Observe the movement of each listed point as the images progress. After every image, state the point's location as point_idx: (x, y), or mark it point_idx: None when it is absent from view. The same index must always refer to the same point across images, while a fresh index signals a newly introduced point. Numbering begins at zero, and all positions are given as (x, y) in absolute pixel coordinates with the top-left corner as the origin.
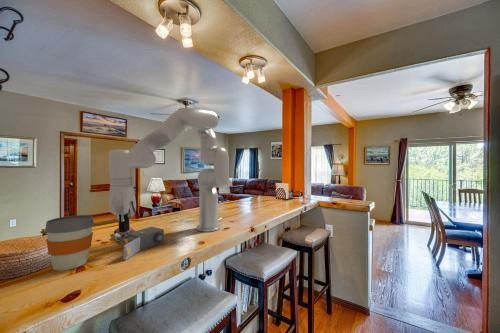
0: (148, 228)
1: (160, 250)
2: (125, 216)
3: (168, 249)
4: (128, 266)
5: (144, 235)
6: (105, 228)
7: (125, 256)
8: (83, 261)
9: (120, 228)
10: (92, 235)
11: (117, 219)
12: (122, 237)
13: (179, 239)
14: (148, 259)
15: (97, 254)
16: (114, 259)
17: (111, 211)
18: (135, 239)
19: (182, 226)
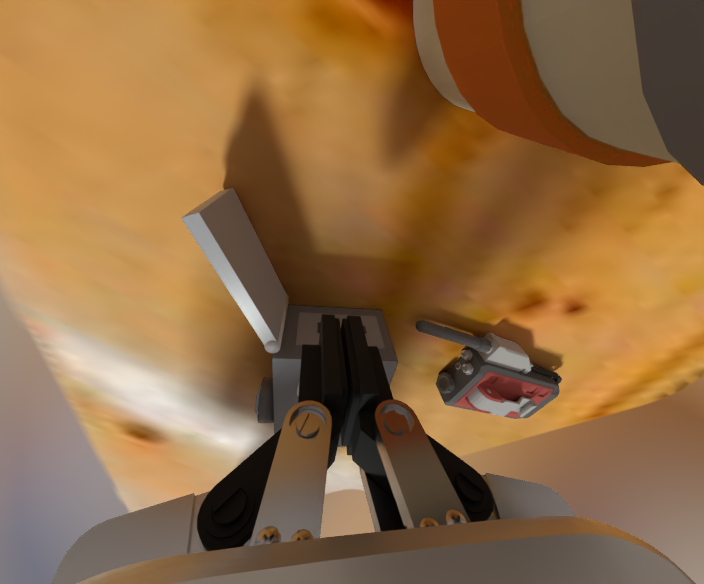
0: None
1: (202, 338)
2: (232, 508)
3: (183, 356)
4: (113, 133)
5: (273, 376)
6: (624, 387)
7: (215, 196)
8: (418, 19)
9: (335, 335)
10: (519, 113)
11: (414, 419)
12: (475, 355)
13: (251, 422)
14: (132, 250)
15: (452, 189)
16: (298, 177)
17: (586, 572)
18: (261, 323)
19: (353, 477)
